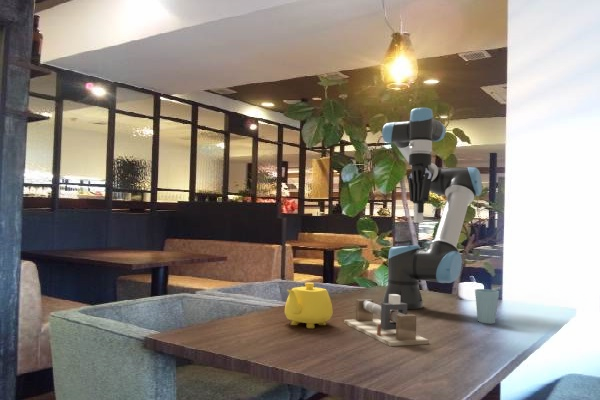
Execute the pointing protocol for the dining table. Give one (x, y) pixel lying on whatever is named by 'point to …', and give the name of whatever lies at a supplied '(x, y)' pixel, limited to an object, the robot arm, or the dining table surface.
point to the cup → (486, 305)
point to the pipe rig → (372, 327)
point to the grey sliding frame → (392, 305)
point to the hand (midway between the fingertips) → (418, 222)
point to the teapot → (308, 305)
